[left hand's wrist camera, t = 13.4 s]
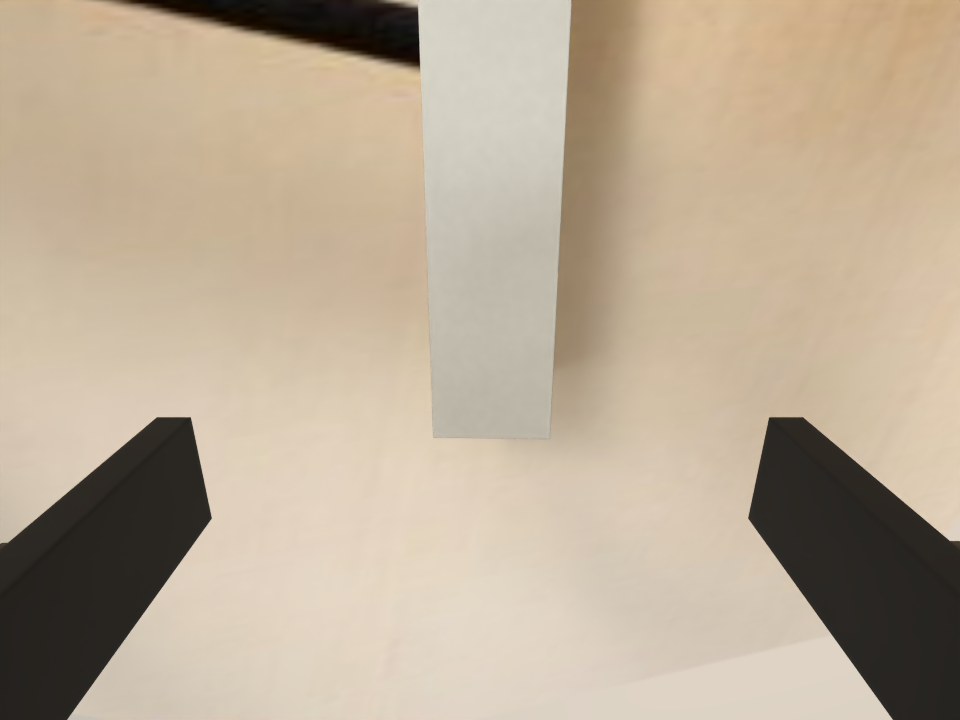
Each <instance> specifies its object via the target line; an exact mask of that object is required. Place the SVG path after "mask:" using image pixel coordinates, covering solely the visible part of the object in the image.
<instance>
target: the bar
mask: <svg viewBox="0 0 960 720" xmlns="http://www.w3.org/2000/svg"><path fill="white" fill-rule="evenodd" d="M571 6H572V0H418V11H419V40H420V69H421V98H422V128H423V157H424V186H425V215H426V244H427V274H428V303H429V332H430V361H431V390H432V419H433V438H502V439H550V426H551V406H552V386H553V366H554V346H555V326H556V306H557V286H558V266H559V246H560V226H561V206H562V186H563V166H564V146H565V126H566V106H567V86H568V66H569V46H570V26H571Z"/></svg>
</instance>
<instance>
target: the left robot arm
mask: <svg viewBox="0 0 960 720" xmlns="http://www.w3.org/2000/svg"><path fill="white" fill-rule="evenodd" d="M211 519H212V517H211V512H210V508H209V503H208V498H207V493H206V488H205V484H204V479H203V474H202V469H201V464H200V460H199V455H198V450H197V445H196V440H195V435H194V431H193V426H192V421H191V417H157V418H156V419H155V420H153V421H152V422H151V423H150V424H149V425H147V426H146V427H145V428H144V429H143V430H141V431H140V432H139V433H138V434H137V435H136V436H134V437H133V438H132V439H131V440H130V441H128V442H127V443H126V444H125V445H124V446H122V447H121V448H120V449H119V450H118V451H117V452H115V453H114V454H113V455H112V456H111V457H109V458H108V459H107V460H106V461H105V462H103V463H102V464H101V465H100V466H99V467H98V468H96V469H95V470H94V471H93V472H92V473H90V474H89V475H88V476H87V477H86V478H84V479H83V480H82V481H81V482H80V483H79V484H77V485H76V486H75V487H74V488H73V489H71V490H70V491H69V492H68V493H67V494H65V495H64V496H63V497H62V498H61V499H60V500H58V501H57V502H56V503H55V504H54V505H52V506H51V507H50V508H49V509H48V510H46V511H45V512H44V513H43V514H42V515H41V516H39V517H38V518H37V519H36V520H35V521H33V522H32V523H31V524H30V525H29V526H27V527H26V528H25V529H24V530H23V531H22V532H20V533H19V534H18V535H17V536H16V537H14V538H13V539H12V540H11V541H10V542H8V543H1V544H0V720H67V719H68V718H69V716H70V715H71V713H72V712H73V711H74V709H75V708H76V707H77V705H78V704H79V702H80V701H81V700H82V698H83V697H84V695H85V694H86V693H87V691H88V690H89V688H90V687H91V686H92V684H93V683H94V681H95V680H96V679H97V677H98V676H99V675H100V673H101V672H102V670H103V669H104V668H105V666H106V665H107V663H108V662H109V661H110V659H111V658H112V656H113V655H114V654H115V652H116V651H117V649H118V648H119V647H120V645H121V644H122V643H123V641H124V640H125V638H126V637H127V636H128V634H129V633H130V631H131V630H132V629H133V627H134V626H135V624H136V623H137V622H138V620H139V619H140V618H141V616H142V615H143V613H144V612H145V611H146V609H147V608H148V606H149V605H150V604H151V602H152V601H153V599H154V598H155V597H156V595H157V594H158V592H159V591H160V590H161V588H162V587H163V586H164V584H165V583H166V581H167V580H168V579H169V577H170V576H171V574H172V573H173V572H174V570H175V569H176V567H177V566H178V565H179V563H180V562H181V561H182V559H183V558H184V556H185V555H186V554H187V552H188V551H189V549H190V548H191V547H192V545H193V544H194V542H195V541H196V540H197V538H198V537H199V535H200V534H201V533H202V531H203V530H204V529H205V527H206V526H207V524H208V523H209V522H210V520H211ZM748 519H749V520H750V522H751V523H752V524H753V526H754V527H755V529H756V530H757V531H758V533H759V534H760V535H761V537H762V538H763V540H764V541H765V542H766V544H767V545H768V547H769V548H770V549H771V551H772V552H773V554H774V555H775V556H776V558H777V559H778V561H779V562H780V563H781V565H782V566H783V567H784V569H785V570H786V572H787V573H788V574H789V576H790V577H791V579H792V580H793V581H794V583H795V584H796V586H797V587H798V588H799V590H800V591H801V592H802V594H803V595H804V597H805V598H806V599H807V601H808V602H809V604H810V605H811V606H812V608H813V609H814V611H815V612H816V613H817V615H818V616H819V618H820V619H821V620H822V622H823V623H824V624H825V626H826V627H827V629H828V630H829V631H830V633H831V634H832V636H833V637H834V638H835V640H836V641H837V642H838V644H839V645H840V647H841V648H842V649H843V651H844V652H845V654H846V655H847V656H848V658H849V659H850V661H851V662H852V663H853V665H854V666H855V668H856V669H857V670H858V672H859V673H860V674H861V676H862V677H863V679H864V680H865V681H866V683H867V684H868V686H869V687H870V688H871V690H872V691H873V693H874V694H875V695H876V697H877V698H878V700H879V701H880V702H881V704H882V705H883V707H884V708H885V709H886V711H887V712H888V713H889V715H890V716H891V718H892V719H893V720H960V541H949V540H948V539H947V538H946V537H944V536H943V535H942V534H941V533H940V532H938V531H937V530H936V529H935V528H934V527H933V526H931V525H930V524H929V523H928V522H927V521H925V520H924V519H923V518H922V517H921V516H919V515H918V514H917V513H916V512H915V511H914V510H912V509H911V508H910V507H909V506H908V505H906V504H905V503H904V502H903V501H902V500H900V499H899V498H898V497H897V496H896V495H895V494H893V493H892V492H891V491H890V490H889V489H887V488H886V487H885V486H884V485H883V484H881V483H880V482H879V481H878V480H877V479H876V478H874V477H873V476H872V475H871V474H870V473H868V472H867V471H866V470H865V469H864V468H862V467H861V466H860V465H859V464H858V463H857V462H855V461H854V460H853V459H852V458H851V457H849V456H848V455H847V454H846V453H845V452H843V451H842V450H841V449H840V448H839V447H838V446H836V445H835V444H834V443H833V442H832V441H830V440H829V439H828V438H827V437H826V436H824V435H823V434H822V433H821V432H820V431H819V430H817V429H816V428H815V427H814V426H813V425H811V424H810V423H809V422H808V421H807V420H805V419H804V418H803V417H769V421H768V426H767V431H766V435H765V440H764V445H763V450H762V455H761V460H760V464H759V469H758V474H757V479H756V484H755V488H754V493H753V498H752V503H751V508H750V512H749V517H748Z"/></svg>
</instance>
